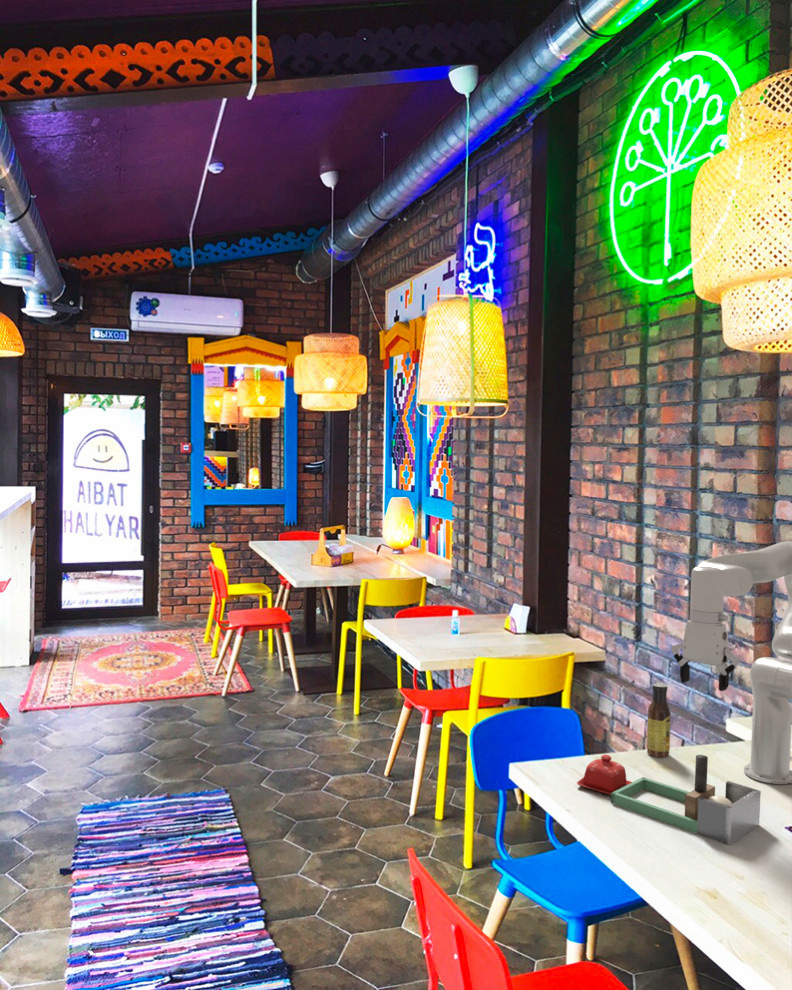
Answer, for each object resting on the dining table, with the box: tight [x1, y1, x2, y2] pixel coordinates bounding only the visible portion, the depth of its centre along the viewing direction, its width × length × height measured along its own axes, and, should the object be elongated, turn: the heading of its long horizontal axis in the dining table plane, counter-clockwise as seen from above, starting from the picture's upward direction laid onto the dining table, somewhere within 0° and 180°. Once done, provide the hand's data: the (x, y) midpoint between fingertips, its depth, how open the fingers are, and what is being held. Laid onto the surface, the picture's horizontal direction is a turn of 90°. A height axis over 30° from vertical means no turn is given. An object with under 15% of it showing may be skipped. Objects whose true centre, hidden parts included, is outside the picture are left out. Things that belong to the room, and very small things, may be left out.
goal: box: [696, 780, 762, 846], centre depth 188 cm, size 15×8×8 cm, turn 134°
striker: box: [684, 754, 716, 821], centre depth 193 cm, size 10×3×14 cm, turn 134°
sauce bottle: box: [646, 683, 672, 758], centre depth 235 cm, size 6×6×20 cm
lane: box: [610, 776, 697, 834], centre depth 199 cm, size 15×22×2 cm
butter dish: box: [576, 754, 633, 796], centre depth 211 cm, size 12×12×8 cm
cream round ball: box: [708, 795, 732, 806], centre depth 190 cm, size 7×7×7 cm
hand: (703, 685), depth 205 cm, fingers open, 9 cm apart
